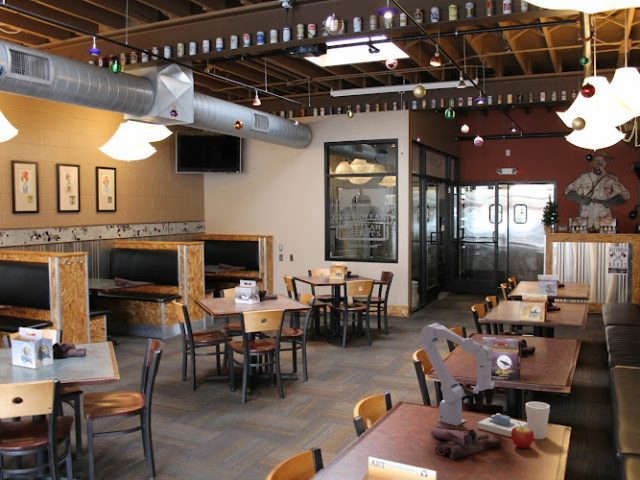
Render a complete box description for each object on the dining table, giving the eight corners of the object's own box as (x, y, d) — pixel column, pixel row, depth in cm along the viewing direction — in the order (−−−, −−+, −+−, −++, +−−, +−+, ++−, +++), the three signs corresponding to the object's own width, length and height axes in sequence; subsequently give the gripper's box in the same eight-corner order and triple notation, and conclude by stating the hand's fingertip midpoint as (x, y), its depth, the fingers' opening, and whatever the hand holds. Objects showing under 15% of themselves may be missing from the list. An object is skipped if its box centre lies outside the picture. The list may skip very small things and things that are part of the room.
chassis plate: (477, 428, 270) (477, 422, 270) (494, 420, 280) (494, 414, 280) (512, 437, 259) (512, 431, 259) (528, 428, 269) (528, 422, 269)
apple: (510, 442, 254) (510, 417, 253) (533, 444, 252) (533, 419, 251) (511, 449, 246) (511, 424, 245) (534, 451, 244) (534, 426, 243)
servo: (514, 430, 267) (514, 416, 267) (511, 432, 265) (511, 418, 264) (489, 424, 275) (489, 410, 275) (485, 426, 273) (485, 412, 272)
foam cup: (546, 432, 264) (546, 402, 264) (552, 440, 255) (552, 408, 254) (523, 432, 265) (523, 401, 264) (528, 440, 256) (528, 408, 255)
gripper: (483, 380, 261) (483, 412, 262) (501, 373, 272) (501, 404, 272) (468, 377, 266) (468, 408, 267) (486, 370, 277) (486, 401, 277)
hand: (484, 406), depth 270 cm, fingers open, 7 cm apart
